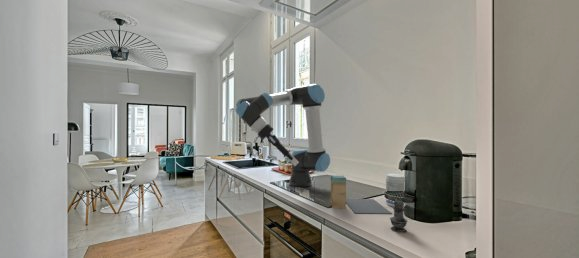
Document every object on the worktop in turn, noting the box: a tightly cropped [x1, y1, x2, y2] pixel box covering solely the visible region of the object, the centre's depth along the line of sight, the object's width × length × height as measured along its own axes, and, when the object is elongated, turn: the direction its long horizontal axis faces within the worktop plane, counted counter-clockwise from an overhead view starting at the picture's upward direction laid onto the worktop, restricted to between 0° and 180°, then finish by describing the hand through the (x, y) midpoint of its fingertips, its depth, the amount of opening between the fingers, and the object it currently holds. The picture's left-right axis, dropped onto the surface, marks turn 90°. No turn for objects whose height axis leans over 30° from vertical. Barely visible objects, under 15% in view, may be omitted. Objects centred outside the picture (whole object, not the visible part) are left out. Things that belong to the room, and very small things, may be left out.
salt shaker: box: [389, 197, 409, 234], centre depth 88 cm, size 6×6×12 cm
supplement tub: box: [385, 173, 405, 208], centre depth 118 cm, size 10×10×15 cm
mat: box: [346, 198, 393, 215], centre depth 116 cm, size 22×16×1 cm
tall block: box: [330, 174, 347, 209], centre depth 116 cm, size 6×6×14 cm
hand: (296, 164), depth 116 cm, fingers closed
